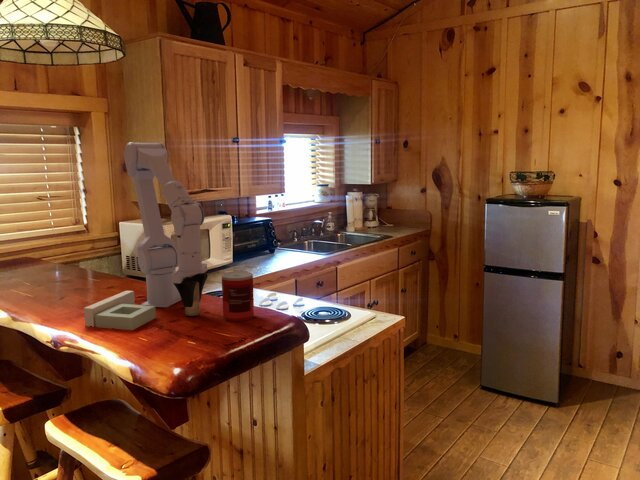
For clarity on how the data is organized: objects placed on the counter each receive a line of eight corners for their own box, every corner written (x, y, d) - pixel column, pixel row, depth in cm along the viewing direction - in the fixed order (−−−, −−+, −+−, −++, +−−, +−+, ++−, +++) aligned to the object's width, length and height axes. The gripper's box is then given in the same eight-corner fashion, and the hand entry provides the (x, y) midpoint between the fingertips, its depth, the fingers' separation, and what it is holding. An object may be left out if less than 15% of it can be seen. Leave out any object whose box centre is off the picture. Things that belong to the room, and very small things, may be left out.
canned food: (239, 310, 142) (237, 269, 140) (260, 316, 137) (259, 273, 135) (216, 317, 136) (214, 275, 134) (238, 323, 131) (236, 279, 129)
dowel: (188, 311, 140) (187, 281, 138) (201, 312, 139) (201, 281, 138) (182, 315, 136) (182, 284, 135) (196, 316, 136) (195, 285, 134)
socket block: (121, 315, 139) (120, 303, 139) (155, 317, 136) (155, 306, 136) (95, 327, 129) (95, 315, 129) (132, 330, 127) (131, 317, 126)
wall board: (127, 306, 147) (126, 290, 146) (135, 307, 146) (133, 291, 145) (85, 326, 130) (83, 308, 130) (93, 326, 130) (92, 308, 129)
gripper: (189, 258, 127) (192, 313, 129) (216, 247, 141) (218, 298, 143) (163, 256, 129) (166, 311, 131) (192, 246, 143) (194, 296, 145)
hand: (192, 304), depth 137 cm, fingers closed on dowel, 4 cm apart
